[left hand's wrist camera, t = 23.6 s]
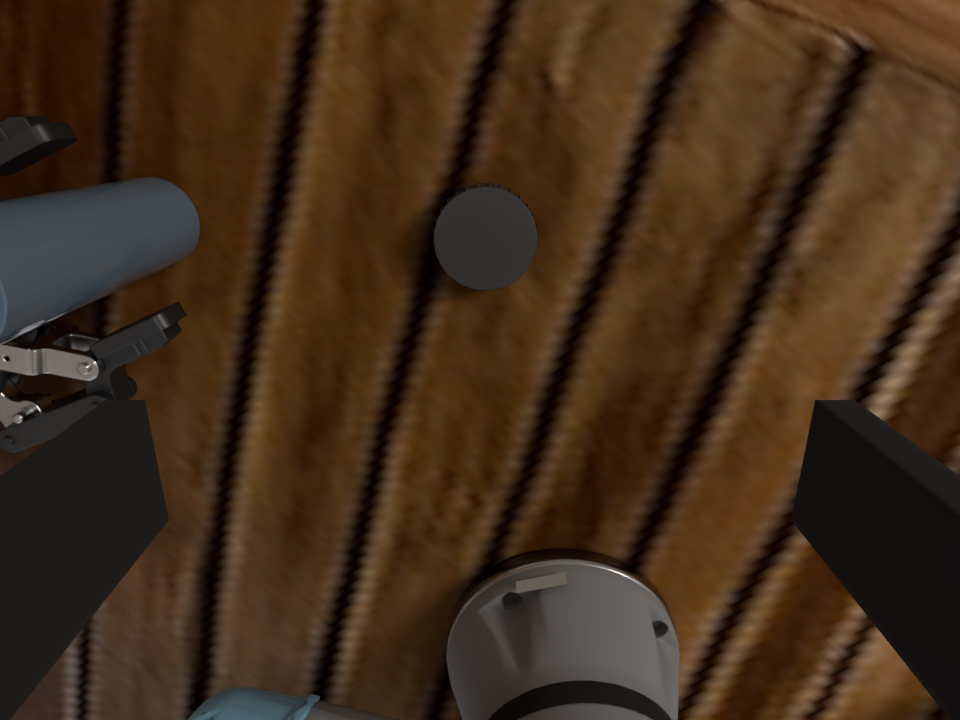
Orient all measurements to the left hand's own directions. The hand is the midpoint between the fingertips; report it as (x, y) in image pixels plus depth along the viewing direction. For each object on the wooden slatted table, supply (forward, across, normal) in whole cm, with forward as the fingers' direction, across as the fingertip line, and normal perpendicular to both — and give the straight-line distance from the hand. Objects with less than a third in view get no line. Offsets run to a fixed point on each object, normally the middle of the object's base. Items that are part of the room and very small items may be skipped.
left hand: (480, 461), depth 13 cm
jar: (+23, +17, -2) cm, 28 cm away
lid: (+21, 0, -1) cm, 21 cm away
